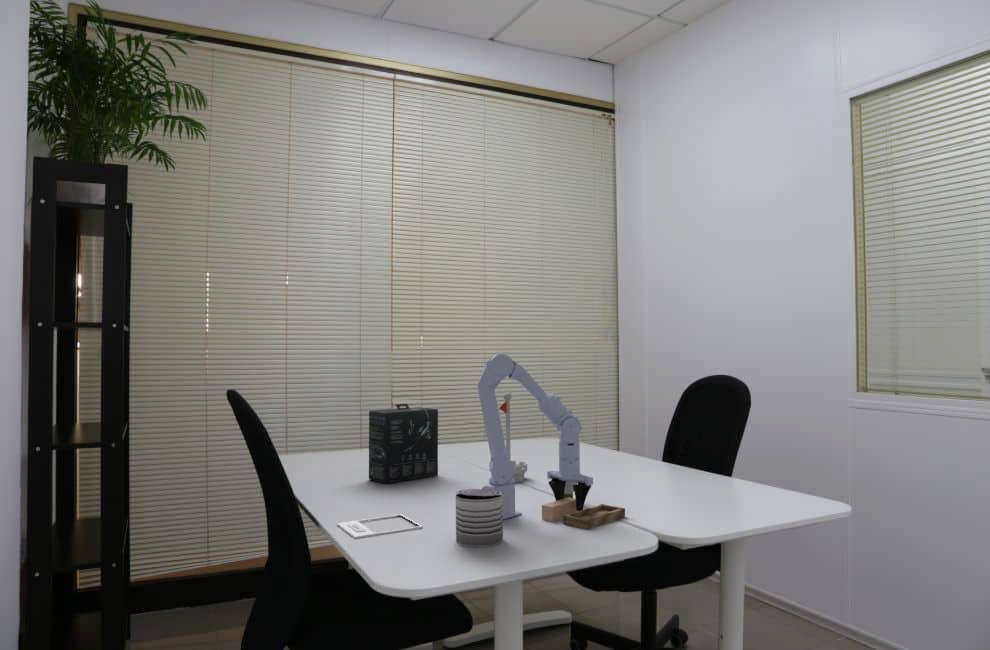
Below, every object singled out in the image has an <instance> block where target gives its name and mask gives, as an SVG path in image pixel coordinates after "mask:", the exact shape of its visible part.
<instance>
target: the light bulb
mask: <svg viewBox="0 0 990 650" xmlns="http://www.w3.org/2000/svg"><path fill="white" fill-rule="evenodd" d="M576 484H578V483H574V482H569V481H566V485H565V491H564V499H565V498H568V497H569V498H574V493H575V492H574V489H573V485H576Z"/></svg>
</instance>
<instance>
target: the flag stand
mask: <svg viewBox="0 0 990 650" xmlns="http://www.w3.org/2000/svg"><path fill="white" fill-rule="evenodd" d="M512 398H513V395H512V394H511V392H509V391H506V392H505V393H504V394H503V399H504V401H505V402H504V403H502V404H501V406H500V407H498V410H500V411H502V412H504V413H505V446H506V450H507V454H508V458H509V459H510V461H511V464H512V465H513V467H514V476H513V478H512V479H514V480H515V483H517V482H522V481H524V480H525V474H526V472H527V471H528V463H526V461H521V460H520V461H519V463H516V462H517V461H516V460H513V459H511V399H512ZM489 471H490V470H489ZM490 473H491V471H490Z"/></svg>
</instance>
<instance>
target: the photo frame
mask: <svg viewBox="0 0 990 650" xmlns="http://www.w3.org/2000/svg"><path fill="white" fill-rule="evenodd" d="M397 516H398V517H402V516H403V517H402V518H404V517H405V518H404V519H405V520H408V521H409V520H410V522H411V521H412V523H413V524H415V525H416V524H417V526H412V527H411V526H410V527H406V528H405V527H404V528H399V529H393V530H388V531H387V530H385V531H380V532H374V531H373V530H371V529H370V528H369V527H367V526H365V525H364V524H362V522H361V521H368V520H374V521H377V520H376V519H381V520H385V519H384V518H388V519H392V518H391V517H395V518H398V517H397ZM360 522H361V523H360ZM368 522H369V521H368ZM337 525H338V526H340V527H341V528H342V529H343V530H342V529H341V528H340V527H339V528H340V529H341V530H342V531H344V530H345V531H346V532H347V533H346V532H345V531H344V532H345V533H346V534H348V535H349V536H350V535H351V536H352V538H353V539H354V538H357V539H363V538H362V537H364V538H370V537H376V536H375V535H377V536H382V534H383V535H388V534H395V533H401V532H407V531H408V530H409V531H414V529H415V530H421V529H424V526H423V525H422V524H420V523H418V522H417V521H414V520H413V519H411V518H409V517H408V516H405V515H404V514H402V513H400V514H398V513H397V514H392V515H386V516H379V517H378V516H377V517H372V518H364V519H358V520H351V521H350V520H349V521H345V522H344V521H343V522H338V523H336V526H337ZM418 525H419V526H418ZM338 526H337V527H338ZM420 528H421V529H420ZM409 531H408V532H409ZM351 536H350V537H351ZM369 536H370V537H369Z"/></svg>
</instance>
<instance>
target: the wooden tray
mask: <svg viewBox="0 0 990 650" xmlns="http://www.w3.org/2000/svg"><path fill="white" fill-rule="evenodd" d="M624 516H625V517H626V508H624V507H619V506H614V505H610V504H604V503H601V504H598V505H594V506H591V507H588V508H585V509H584V508H583V510H580V511H577V512H573V513H570V514H567V515H563V518H562V519H563V521H562V524H563V525H565V526H569V527H575V528H578V529H583V530H589V529H592V528H595V527H598V526H600V525H603V524H607V523H611V522H613V521H616V520H620V519H623V518H625V517H624ZM622 517H623V518H622Z"/></svg>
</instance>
